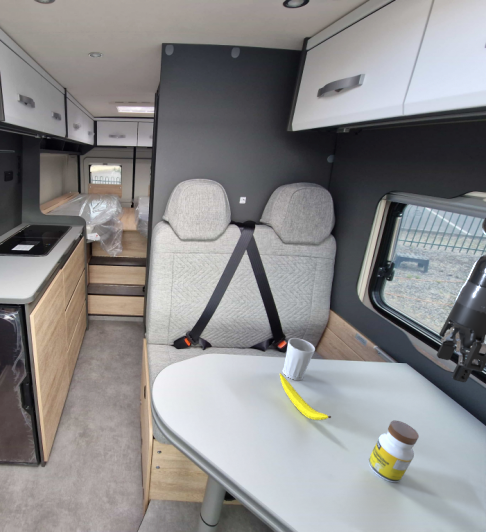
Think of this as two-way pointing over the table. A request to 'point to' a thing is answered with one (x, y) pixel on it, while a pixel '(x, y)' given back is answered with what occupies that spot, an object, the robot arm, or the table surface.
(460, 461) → the table surface
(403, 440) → the brown bottle cap
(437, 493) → the table surface
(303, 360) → the cup
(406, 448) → the pill bottle
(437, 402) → the table surface
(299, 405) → the banana
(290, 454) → the table surface
